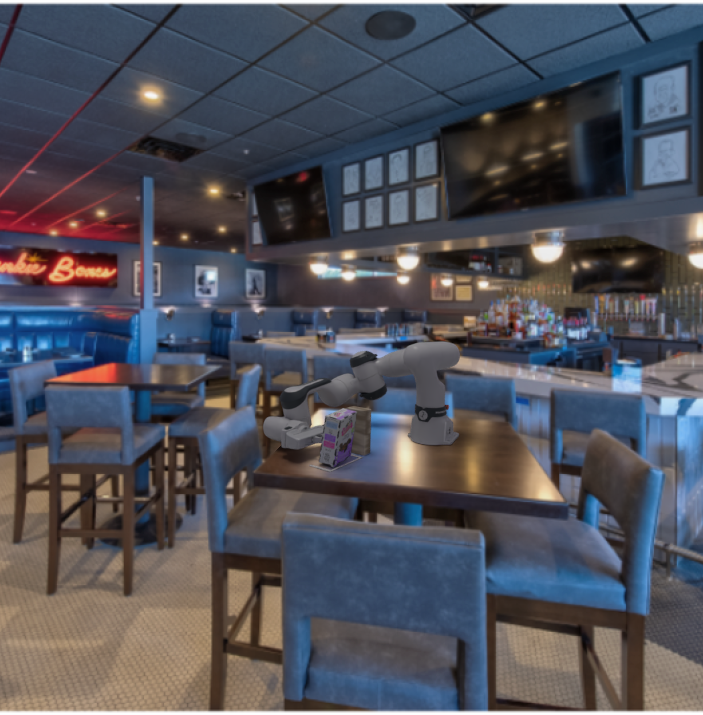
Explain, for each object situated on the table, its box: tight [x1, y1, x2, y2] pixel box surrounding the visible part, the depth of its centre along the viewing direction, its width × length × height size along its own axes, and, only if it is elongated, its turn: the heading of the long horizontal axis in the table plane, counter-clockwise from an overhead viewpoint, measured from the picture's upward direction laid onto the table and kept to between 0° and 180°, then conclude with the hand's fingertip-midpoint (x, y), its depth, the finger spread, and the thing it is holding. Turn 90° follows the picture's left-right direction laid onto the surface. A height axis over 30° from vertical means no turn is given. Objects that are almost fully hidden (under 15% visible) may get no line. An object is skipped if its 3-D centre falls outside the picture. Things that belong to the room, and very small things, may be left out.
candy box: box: [318, 407, 357, 468], centre depth 158 cm, size 14×6×16 cm, turn 155°
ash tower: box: [346, 405, 372, 457], centre depth 167 cm, size 4×8×16 cm, turn 53°
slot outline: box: [308, 453, 364, 473], centre depth 158 cm, size 18×9×1 cm, turn 143°
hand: (328, 440), depth 159 cm, fingers closed
